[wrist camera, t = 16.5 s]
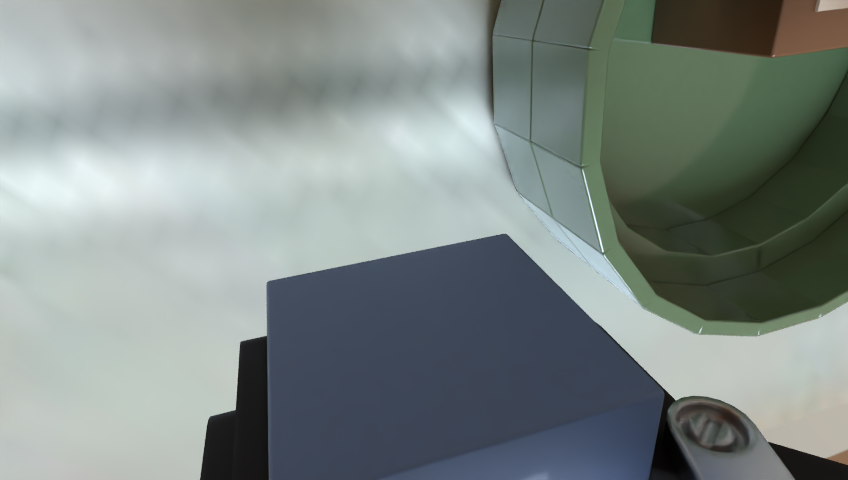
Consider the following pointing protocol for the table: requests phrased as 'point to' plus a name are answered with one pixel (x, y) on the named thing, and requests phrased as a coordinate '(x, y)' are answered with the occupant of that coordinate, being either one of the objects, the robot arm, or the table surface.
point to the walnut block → (752, 26)
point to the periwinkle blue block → (449, 374)
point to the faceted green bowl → (679, 163)
